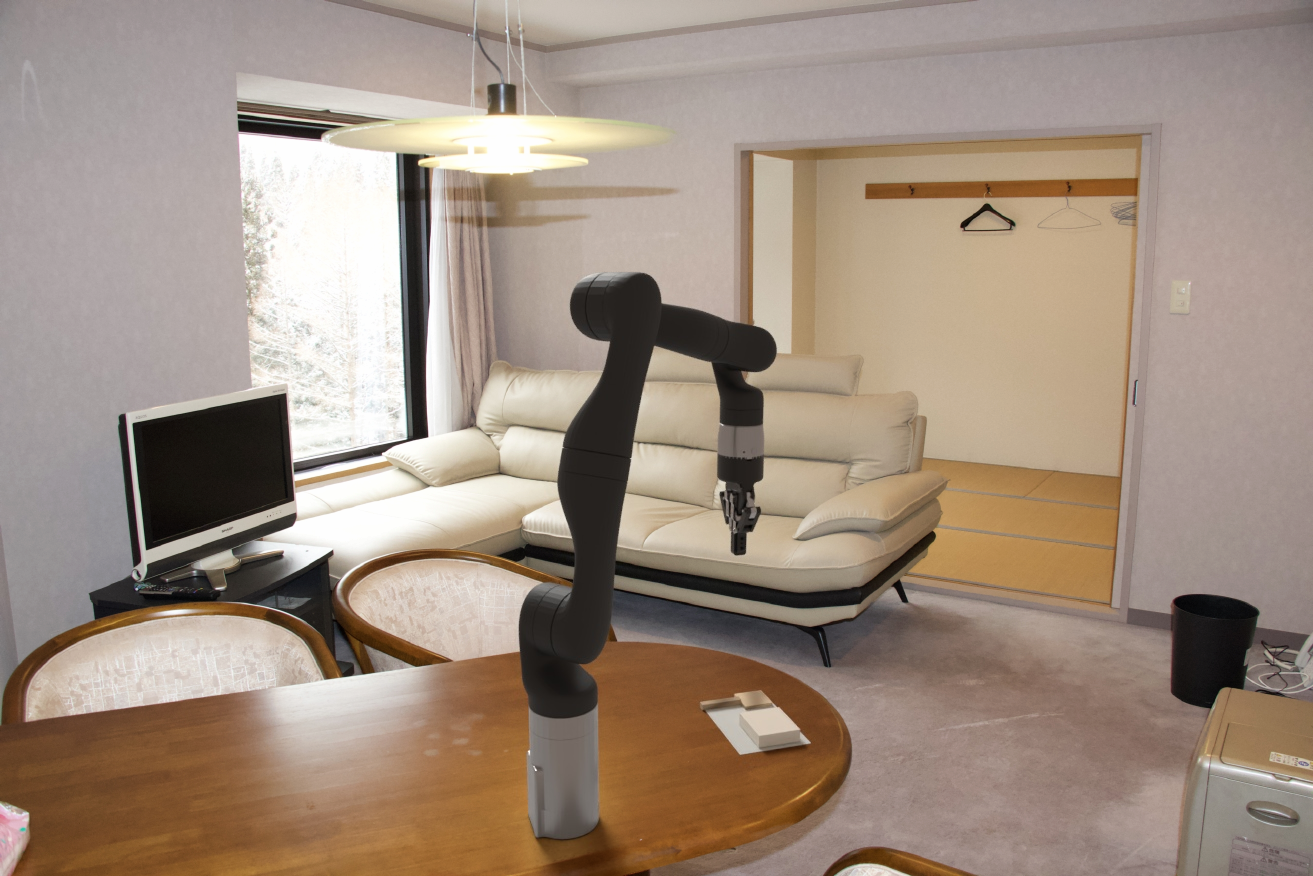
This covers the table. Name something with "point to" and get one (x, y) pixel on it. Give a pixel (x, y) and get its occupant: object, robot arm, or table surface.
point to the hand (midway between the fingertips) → (738, 554)
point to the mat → (737, 736)
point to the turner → (739, 701)
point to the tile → (769, 727)
